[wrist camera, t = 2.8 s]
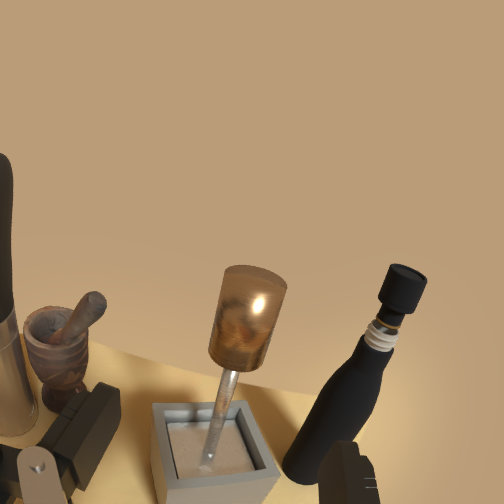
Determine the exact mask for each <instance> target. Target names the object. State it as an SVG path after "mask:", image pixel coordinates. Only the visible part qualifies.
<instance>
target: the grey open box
mask: <svg viewBox="0 0 504 504" xmlns="http://www.w3.org/2000/svg"><path fill="white" fill-rule="evenodd" d="M214 405H215V402H199V403H152V415H151V445H150V462H151V468H152V474H153V480H154V485H155V490H156V495H157V500H158V504H261V503H262V502H263V501H264V499H265V498H266V496H267V495H268V493H269V492H270V491H271V489H272V488H273V486H274V485H275V483H276V482H277V480H278V479H279V477H280V476H281V474H280V472H279V470H278V468H277V466H276V464H275V462H274V460H273V458H272V456H271V453H270V451H269V449H268V447H267V445H266V443H265V441H264V438H263V436H262V434H261V432H260V430H259V427H258V425H257V423H256V421H255V418H254V416H253V414H252V412H251V409H250V407H249V405H248V403H247V400H239V401H231V403H230V406H229V409H228V413H227V416H226V419H225V420H235V422H236V424H237V427H238V429H239V432H240V434H241V437H242V439H243V442H244V444H245V447H246V449H247V452H248V454H249V457H250V459H251V461H252V464H253V466H254V468H255V471H250V472H243V473H236V474H229V475H220V476H211V477H200V478H186V479H177V475H176V471H175V466H174V462H173V457H172V453H171V448H170V443H169V438H168V433H167V428H166V427H167V423H184V422H208V421H211V417H212V413H213V409H214Z"/></svg>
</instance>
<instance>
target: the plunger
mask: <svg viewBox="0 0 504 504" xmlns="http://www.w3.org/2000/svg"><path fill="white" fill-rule="evenodd" d="M286 290H287V284H286V282H285V281H284V280H283V279H282V278H281V277H280V276H278V275H277V274H275V273H273V272H271V271H269V270H266V269H263V268H259V267H255V266H249V265H235V266H231V267H228V268H227V269H226V270H225V273H224V278H223V282H222V287H221V291H220V296H219V300H218V306H217V310H216V314H215V319H214V324H213V328H212V333H211V338H210V343H209V348H208V352H209V355H210V357H211V358H212V360H213V361H214V362H215V363H217V364H218V365H219V366H221V367H223V368H224V369H223V373H222V377H221V381H220V385H219V389H218V393H217V397H216V401H215V405H214V409H213V413H212V417H211V421H208V422H184V423H167V427H166V428H167V433H168V438H169V443H170V448H171V453H172V457H173V462H174V466H175V471H176V475H177V479H186V478H200V477H211V476H220V475H229V474H236V473H243V472H250V471H255V468H254V466H253V464H252V461H251V459H250V457H249V454H248V452H247V449H246V447H245V444H244V442H243V439H242V437H241V434H240V432H239V429H238V427H237V424H236V422H235V420H225V419H226V416H227V413H228V409H229V406H230V403H231V399H232V396H233V393H234V389H235V386H236V383H237V379H238V376H239V372H250V371H254V370H256V369H258V368H259V367H260V366H261V365H262V364H263V361H264V358H265V355H266V352H267V349H268V346H269V343H270V340H271V337H272V334H273V331H274V328H275V325H276V322H277V318H278V315H279V312H280V309H281V306H282V303H283V299H284V296H285V293H286Z"/></svg>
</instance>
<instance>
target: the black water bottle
mask: <svg viewBox="0 0 504 504" xmlns="http://www.w3.org/2000/svg"><path fill="white" fill-rule="evenodd" d="M426 284H427V278H426V277H425V276H424V275H423V274H421V273H420V272H418V271H416V270H414V269H412V268H410V267H407V266H404V265H401V264H391V265H390V267H389V270H388V272H387V275H386V278H385V280H384V282H383V285H382V287H381V290H380V292H379V295H378V299H379V300H380V302H381V303H382V306H381V308H380V310H379V313H377V315H376V319H374V320H373V321H372V322H371V323H370V324H369V325H368V329H367V330H366V331H365V334H364V335H362V336H361V337H360V340H359V342H358V344H357V346H356V348H355V350H354V352H353V354H352V356H351V357H350V358H349V359H348V360H347V361H346V362H345V363H344V364H343V365H342V366H341V367H340V368H339V369H338V370H336V371H335V373H334V374H333V375H332V376H331V377H330V379H329V380H328V381H327V383H326V384H325V385H324V387H323V388H322V390H321V392H320V394H319V395H318V397H317V399H316V401H315V403H314V405H313V407H312V409H311V411H310V413H309V415H308V416H307V418H306V420H305V422H304V424H303V426H302V427H301V429H300V431H299V433H298V435H297V436H296V438H295V440H294V442H293V443H292V445H291V447H290V449H289V450H288V452H287V454H286V455H285V457H284V459H283V463H282V467H283V471H284V472H285V474H286V476H287V477H288V478H289V479H291V480H292V481H294V482H296V483H298V484H302V485H313V484H316V483H318V469H319V466H320V463H321V461H322V460H323V458H324V457H325V455H326V454H327V453H328V451H329V450H330V448H331V447H332V445H333V444H334V442H335V441H337V440H339V441H351V442H352V441H353V440H354V438H355V437H356V435H357V434H358V433H359V431H360V430H361V428H362V427H363V425H364V424H365V422H366V421H367V420H368V418H369V417H370V415H371V413H372V411H373V409H374V406H375V403H376V401H377V397H378V395H379V392H380V386H381V381H382V375H383V371H384V369H385V367H386V365H387V364H388V362H389V360H390V358H391V356H392V354H393V351H394V348H393V347H394V346H395V342H396V341H397V340H398V335H399V331H398V329H399V328H400V326H401V323H402V320H403V318H404V316H405V314H412V313H413V312H414V311H415V309H416V307H417V304H418V302H419V300H420V298H421V296H422V293H423V291H424V288H425V286H426Z"/></svg>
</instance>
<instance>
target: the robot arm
mask: <svg viewBox="0 0 504 504" xmlns="http://www.w3.org/2000/svg"><path fill="white" fill-rule="evenodd" d="M12 206H13V173H12V168H11V164H10V162H9V160H8V158H7V157H6V156H5V155H4V154H1V153H0V435H3V436H17V435H21V434H23V433H25V432H27V431H28V430H30V429H31V427H32V426H33V425H34V424H35V422H36V420H37V416H38V408H37V404H36V400H35V396H34V394H33V390H32V387H31V383H30V379H29V376H28V372H27V368H26V364H25V360H24V355H23V351H22V346H21V341H20V336H19V331H18V326H17V320H16V314H15V307H14V299H13V292H12V259H11V223H12ZM120 419H121V406H120V390H119V389H118V388H115V387H113V386H110V385H107V384H105V383H102V382H99V383H98V384H97V385H96V386H95V388H94V389H93V391H92V392H89V391H86V390H82V391H81V392H79V393H77V394H75V395H74V396H73V397H72V398H71V399H70V401H69V402H68V403H67V405H66V407H64V409H63V410H62V411H61V413H60V415H59V416H58V417H57V418H56V420H55V421H54V423H53V424H52V425H51V427H50V428H49V430H48V431H47V432H46V434H45V435H44V437H43V438H42V439H41V441H40V442H39V443H38V444H37V445H36V446H30V447H27V448H25V449H17V448H13V447H9V446H6V445H3V444H0V504H13V503H14V501H15V499H16V497H18V498H21V499H23V502H24V504H74V502H73V499H72V494H73V492H74V490H75V488H78V489H80V490H82V491H84V492H85V490H86V488H87V486H88V484H89V482H90V480H91V478H92V476H93V474H94V472H95V470H96V468H97V466H98V464H99V462H100V460H101V459H102V457H103V455H104V453H105V451H106V449H107V447H108V445H109V443H110V441H111V440H112V438H113V436H114V434H115V432H116V430H117V428H118V426H119V423H120ZM318 488H319V504H380V499H379V494H378V489H377V483H376V480H375V473H374V468H373V465H372V464H371V462H370V461H369V459H368V458H367V456H362V455H361V456H360V453H359V448H358V444H357V443H356V442H351V441H339V440H337V441H335V442H334V444H333V445H332V447H331V448H330V450H329V451H328V453H327V454H326V455H325V457H324V458H323V460H322V461H321V463H320V466H319V469H318Z"/></svg>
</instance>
